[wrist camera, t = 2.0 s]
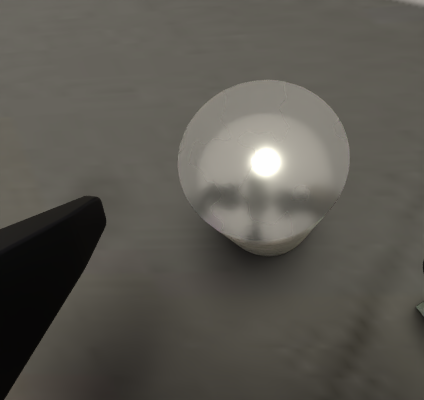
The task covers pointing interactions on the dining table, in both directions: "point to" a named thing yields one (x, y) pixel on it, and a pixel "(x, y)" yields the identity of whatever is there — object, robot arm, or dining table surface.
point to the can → (264, 164)
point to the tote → (421, 308)
